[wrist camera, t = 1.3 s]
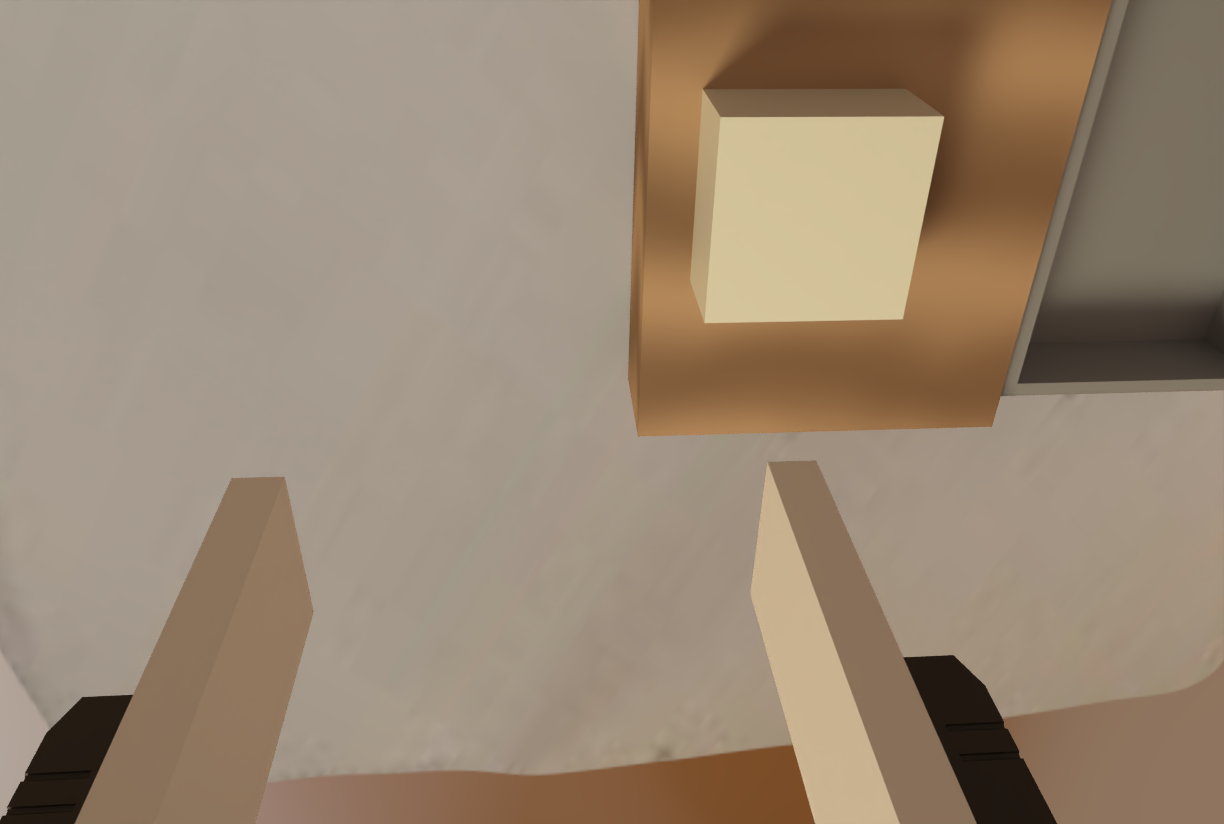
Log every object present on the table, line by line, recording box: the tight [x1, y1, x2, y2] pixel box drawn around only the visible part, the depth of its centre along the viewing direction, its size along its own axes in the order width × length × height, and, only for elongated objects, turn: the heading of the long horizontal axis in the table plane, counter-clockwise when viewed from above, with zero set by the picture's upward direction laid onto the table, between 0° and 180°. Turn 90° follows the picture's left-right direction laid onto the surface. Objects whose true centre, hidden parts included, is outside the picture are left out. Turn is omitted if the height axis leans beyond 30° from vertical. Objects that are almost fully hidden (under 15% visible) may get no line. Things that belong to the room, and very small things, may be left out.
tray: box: [1001, 0, 1224, 396], centre depth 31 cm, size 16×10×4 cm, turn 179°
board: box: [628, 0, 1112, 436], centre depth 30 cm, size 18×13×4 cm
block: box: [690, 89, 944, 323], centre depth 27 cm, size 6×6×3 cm
